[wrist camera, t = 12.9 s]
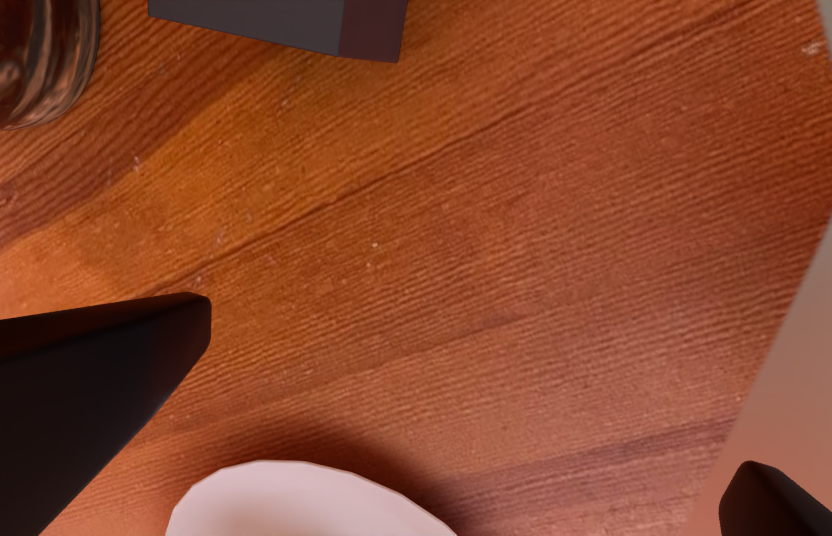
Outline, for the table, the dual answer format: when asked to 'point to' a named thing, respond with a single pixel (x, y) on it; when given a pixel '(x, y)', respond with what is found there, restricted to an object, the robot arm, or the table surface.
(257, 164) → the table surface
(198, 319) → the robot arm
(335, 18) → the base block
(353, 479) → the plate
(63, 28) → the jar
